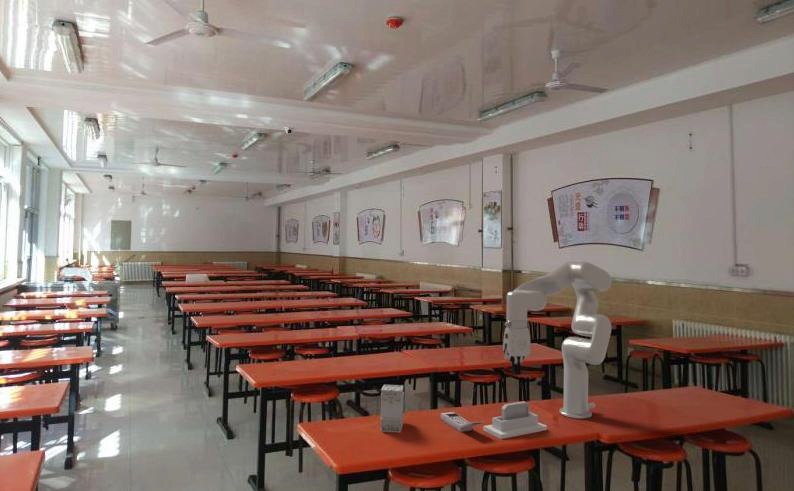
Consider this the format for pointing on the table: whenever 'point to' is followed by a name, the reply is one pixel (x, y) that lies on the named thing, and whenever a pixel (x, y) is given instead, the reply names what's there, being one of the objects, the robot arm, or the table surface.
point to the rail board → (514, 426)
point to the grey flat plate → (515, 410)
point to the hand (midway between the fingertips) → (516, 373)
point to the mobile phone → (458, 421)
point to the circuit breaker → (392, 408)
